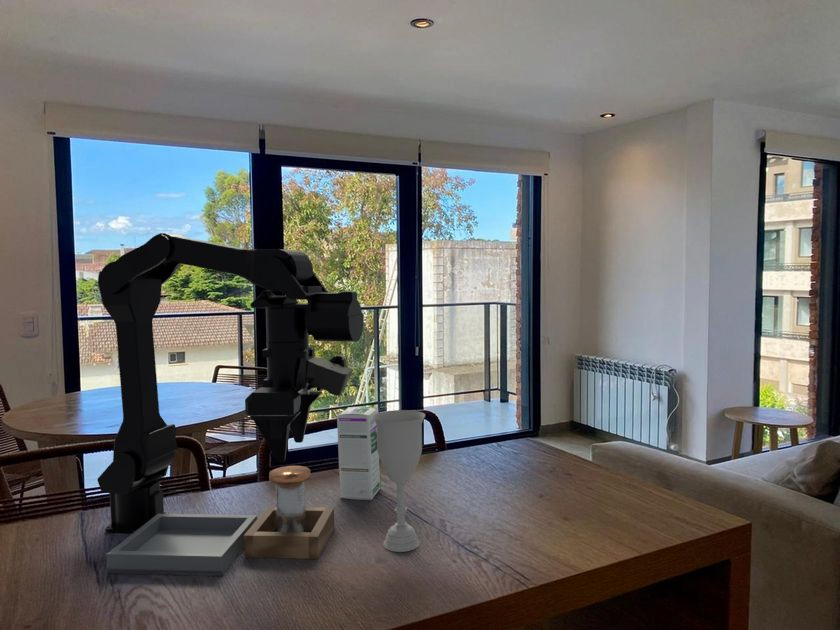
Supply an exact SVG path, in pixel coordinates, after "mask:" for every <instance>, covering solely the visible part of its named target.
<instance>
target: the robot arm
mask: <svg viewBox="0 0 840 630" xmlns="http://www.w3.org/2000/svg"><path fill="white" fill-rule="evenodd" d="M180 265H187V266H191V267H196V268H201V269H205V270H210V271H216V272H221V273H225V274H229V275H230V274H231V275H235V276H238V277H240V278H243V279H244V280H246V281H248V282H249V283H251V284H252V285H255V286H256V287H257V286H258V287H260V288H263V289H265V290H262V291H261V292H260V294H259V295H258V296H257V298H255V299H254V300H253V301H252V302H250V307H251V308H253V309H265V328H266V331H265V332H266V336H265V337H266V348H264V349H262V350H261V353H262V354H261V357H262V358H266V364H267V366H266V367H267V369H266V372H267V373H266V374H267V377H266V378H264V379H263V380H262V387H259V388H257V389H256V390H254V391H251V393H250V394H249V395H248V396H247V397H246V398H245V399H244V410H245V415H246V416H249V418H250V420H253V422H254V424H255V425H256V426H257V428H258V430H259V432H260V434H261V435H262V437H263V439H264V440H265V442H266V444H267V446H268V449H269V450H270V452H271V454H272V456H273V458H274V460H275V461H276V462H277V463H284V462H285V461H286V457H287V452H288V444H289V437H290V433H291V435H292V437H293V441H294V442H295V444H296V443H299V444H300V443H303V442H304V437H305V433H306V428H307V424H308V420H309V416H310V411H311V407H312V404H313V403H315V401H317V399H318V398H319V397H321V395H322V394H323V391H326V392H328V393H329V395H333V396H341V395H342V394H343V393H344V392H345V390H346V387H347V384H348V382H349V379H350V377H351V373H352V370H351V367H348V366H347V365H348V364H347V359H346V357H345V356H342V355H339V354H335V355H334V356H333V357H332V358H331V359H330V360H328V359H326V358H324V359H322V358H319V357H318V356H317V357H316V354H315V348H313V345H310V343H309V342H310V341H309V340H310V339H309V338H310V337H309V336H312V338H313V339H314V340H315V341H316V342H337V343H338V342H339V343H341V342H343V343H344V342H345V343H346V342H347V343H357V342H358V341H360V340H361V337H362V336H363V331H364V325H365V319H364V318H365V316H364V314H363V310H362V307H361V303H360V302H359V300H358V292H357V291H353V290H352V291H350V290H349V291H348V290H347V291H341V292H328V290H327V289H326V287H325V286H324V284H323V283H322V281H321V280H320V278H318V276H317V275H316V274H315V271H314V267H313V263H312V261H311V259H310V258H309V255H308V254H306V253H305V252H304V251H301V250H295V249H294V250H293V249H281V248H250V249H249V248H243V247H242V248H241V247H237V246H233V245H232V246H231V245H226V244H221V243H217V242H210V241H207V240H206V241H205V240H201V239H195V238H190V237H187V236H185V235H183V234H176V233H166V232H162V233H161V232H160V233H158V234H156V235H154V236H152V237H151V238H150V239H148V240H147V241H146V242H145V243H144V244H142V245H139V246H138V247H136V248H134V249H132V250H130V251H128V252H126V253H124V254H123V255H121V256H119V258H117V259H116V260H114V261H111V262H109V263H107V264H106V265H105V266H103V268H102V270H100V271H99V272H98V277H97V283H98V284H97V285H98V289H99V293H100V298H101V302H102V305H103V308H104V309H105V310H106V312H107V314H108V315H109V316H110V317H111V319H112V320H113V322H114V324H115V330H116V331H115V332H116V344H117V358H118V369H119V382H120V392H121V393H120V394H121V404H122V422H121V425H120V427H119V428H118V431H117V432H116V433H117V434H116V436H115V438H114V441H113V454H112V455H113V456H112V462H111V463H110V464H109V465H108V466H107V467H106V469H104V471H103V472H102V473H101V474H100V475H99V476H98V478H97V484H98V485H99V490H100V491H101V493H103V494H104V493H105V494H109V507H110V523H109V524H108V525H107V526H106V527H104V532H106V533H107V532H112V533H113V532H114V533H116V532H117V533H118V532H119V533H134V532H135V531H137V530H138V529H139V528H140V527H142V526H143V525H144V524H145V523H147V522H148V521H149V520H151V519H152V518H153V517H154V516H156V515H157V514H167V512H166V511H165V509H164V506H165V505H164V503H165V502H164V491H162V490H161V485H160V484H161V480H159V479H161V478H164V477H167V473H168V470H169V466H170V465H171V463H173V461H174V460H175V456H176V451H178V450H179V445H178V443H177V439H176V437H177V427H176V424H174V423H172V424H167V423H166V421H165V420H164V419H163V418H162V415H161V414H160V405H159V391H158V380H157V379H158V377H157V366H156V356H155V355H156V353H155V352H156V351H155V341H154V329H153V320H154V317H155V315H156V313H157V311H158V308H159V306H160V303H161V300H162V299H161V298H162V285H164V284H165V283H166V282H167V281H169V280H170V279H171V278H173V277H174V275H175V273H176V271H177V270H178V268H179V266H180ZM274 293H282V294H283V295H276V294H274ZM299 300H307V303H306V302H304V303H303V302H300V303H299V302H298V301H299ZM314 389H316V391H314Z"/></svg>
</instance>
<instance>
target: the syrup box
mask: <svg viewBox="0 0 840 630" xmlns="http://www.w3.org/2000/svg"><path fill="white" fill-rule="evenodd" d="M377 413H379V408H377V407H371V406H351V407H349V406H347V408H346V409H345V410H343V411H342V412H340V413H339V414H337V415H336V423H337V424H336V425H337V448H338V449H337V450H338V451H337V452H338V453H337V454H338V474H339V496H340V498H341V499H348V500H361V501H362V500H363V501H373V499H374V497H375V496H376V495H377V493H379V491H380V490H381V489H382V475H381V470H382V469H381V460H380V458H379V455H378V452H377V424H376V422H375V420H374V419H373V416H374V415H375V414H377Z"/></svg>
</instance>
